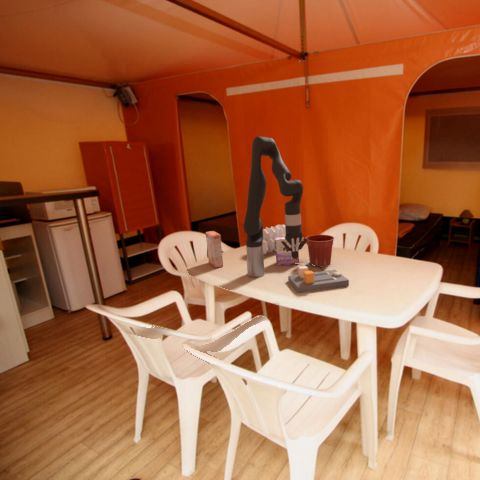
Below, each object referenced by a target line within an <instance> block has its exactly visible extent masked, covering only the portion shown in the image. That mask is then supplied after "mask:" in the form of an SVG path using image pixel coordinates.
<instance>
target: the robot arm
mask: <svg viewBox="0 0 480 480" xmlns="http://www.w3.org/2000/svg"><path fill="white" fill-rule="evenodd" d="M262 157H269V158H270V159H271V172H272V174H273V175H274V177H275V179H276V180H277V184H278V188H279V193H280V194H281V195H282V196H283V197H286V198H287V197H291V199H290V200H289V201H286V202H285V203H284V216H285V217H284V226H285V230H286V235H285V239H284V240H283V241H281V243H282V244H283V245H284V246H285V247H286V248H287V249H288V250H289V251H291V254H292V258H293V259H297V257H298V252H299V251H300V250H301V251H302V249H303V247H304V246H305V244H307V239H306V237H304V235H303V234H302V233H303V231H302V216H301V203H302V198H303V192H304V185H303V183H302V181H301V180H299V179H293V180H292V173H291V171H290V170H289V168H288V167H287V165H286V164H285V162H284V160H283V158H282V156H281V153H280V150H279V148H278V146H277V143H276V141H275V140H274V139H273V138H272V137H267V136H260V135H259V136H256V137H254V139H253V141H252V144H251V160H250V161H251V163H250V164H251V165H250V174H249V181H248V190H247V199H246V201H247V202H246V212H245V216H244V221H243V226H242V227H243V231H244V232H245V234H246V241H245V245H246V248H245V249H246V269H247V270H246V271H247V275H248V277H250V278H258V277H259V278H260V277H262V276H263V277H264V275H265V274H266V273H265V264H264V263H265V262H264V260H265V259H264V254H263V229H264V228H263V227H264V225H263V221H262V220H261V218H260V215H261V209H262V207H263V203H264V200H265V196H266V192H267V186H268V185H267V183H268V182H267V178H266V176H265V174H264V171H263V169H262ZM286 241H288V243H289V244H290V247H291V248H290V247H289V246H288V245H287V242H286Z"/></svg>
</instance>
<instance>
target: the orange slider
mask: <svg viewBox="0 0 480 480" xmlns="http://www.w3.org/2000/svg"><path fill="white" fill-rule="evenodd" d="M303 274H304V282H305V283H306V284H309V283H314V273H313V271H312V270H308V271H304V272H303Z"/></svg>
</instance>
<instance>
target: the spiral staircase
mask: <svg viewBox="0 0 480 480" xmlns="http://www.w3.org/2000/svg"><path fill="white" fill-rule="evenodd" d="M285 236H286V230H285V224H277V225H275V226H270V227H267V226H266V227H265V228H263V255H267V253H273V251H274V252H276V248H275V238H276V237H285Z"/></svg>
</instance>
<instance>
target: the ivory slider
mask: <svg viewBox="0 0 480 480" xmlns="http://www.w3.org/2000/svg"><path fill="white" fill-rule="evenodd" d="M297 269H298V272H297V275H299V277H300V278H304V274H303V272H304V271H309V267H308V266H306V265H300V266H298V267H297Z"/></svg>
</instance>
